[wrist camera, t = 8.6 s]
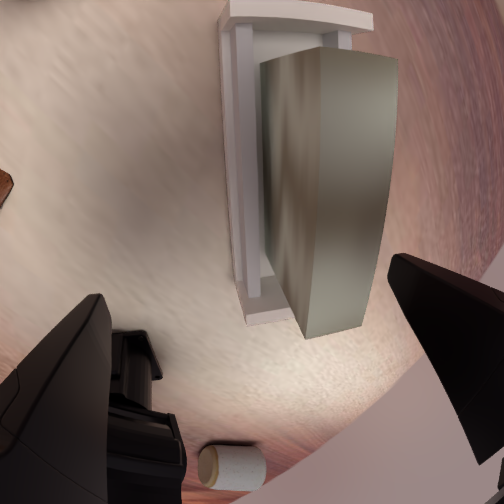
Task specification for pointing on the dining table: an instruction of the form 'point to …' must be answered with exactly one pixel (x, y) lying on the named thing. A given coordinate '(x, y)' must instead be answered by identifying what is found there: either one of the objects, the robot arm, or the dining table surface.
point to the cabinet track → (250, 124)
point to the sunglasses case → (5, 185)
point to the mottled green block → (327, 178)
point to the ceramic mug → (232, 467)
